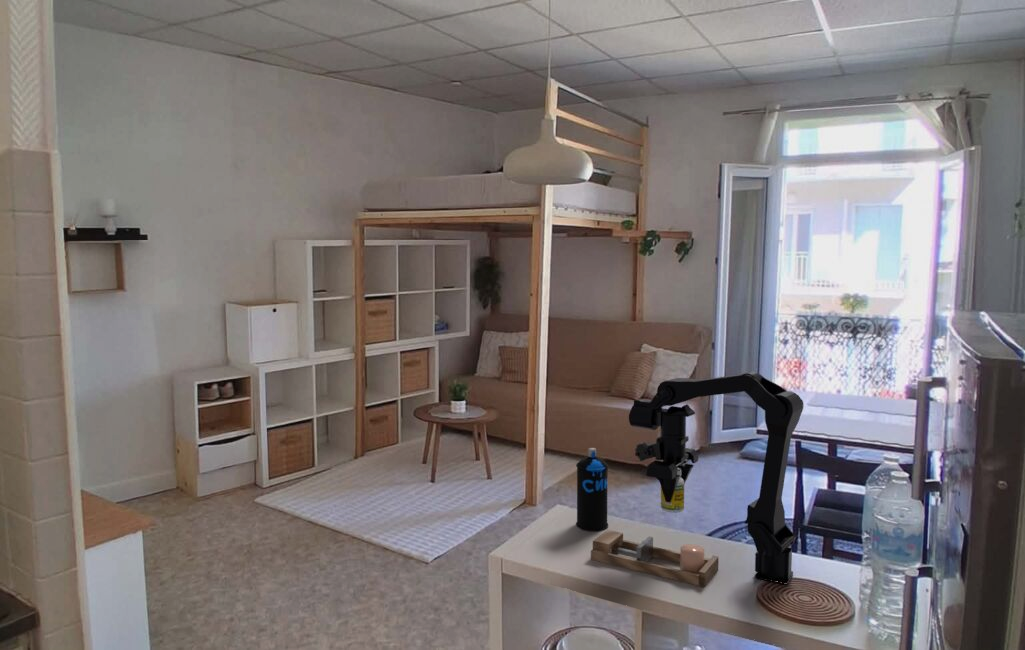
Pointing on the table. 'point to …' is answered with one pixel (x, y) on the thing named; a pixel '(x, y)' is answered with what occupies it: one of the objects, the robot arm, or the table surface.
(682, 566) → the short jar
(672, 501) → the supplement bottle
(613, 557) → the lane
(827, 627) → the table surface
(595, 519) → the aerosol can
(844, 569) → the table surface
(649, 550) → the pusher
